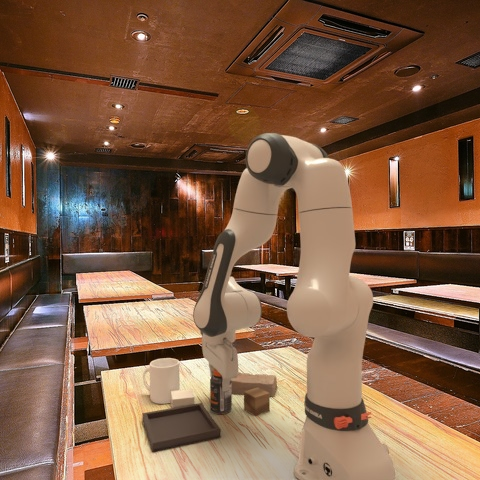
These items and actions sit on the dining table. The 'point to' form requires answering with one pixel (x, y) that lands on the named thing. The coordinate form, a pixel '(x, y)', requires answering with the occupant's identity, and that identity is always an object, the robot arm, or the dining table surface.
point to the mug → (163, 379)
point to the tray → (179, 426)
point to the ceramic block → (182, 398)
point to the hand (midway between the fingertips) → (219, 383)
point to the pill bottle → (219, 395)
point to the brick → (254, 383)
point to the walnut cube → (256, 401)
